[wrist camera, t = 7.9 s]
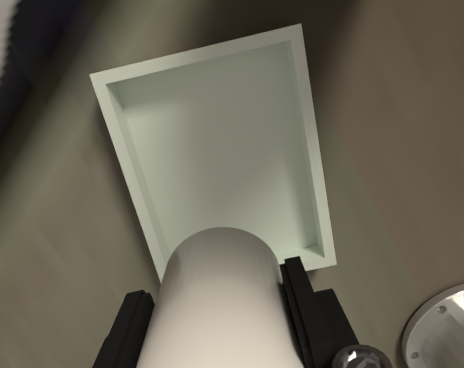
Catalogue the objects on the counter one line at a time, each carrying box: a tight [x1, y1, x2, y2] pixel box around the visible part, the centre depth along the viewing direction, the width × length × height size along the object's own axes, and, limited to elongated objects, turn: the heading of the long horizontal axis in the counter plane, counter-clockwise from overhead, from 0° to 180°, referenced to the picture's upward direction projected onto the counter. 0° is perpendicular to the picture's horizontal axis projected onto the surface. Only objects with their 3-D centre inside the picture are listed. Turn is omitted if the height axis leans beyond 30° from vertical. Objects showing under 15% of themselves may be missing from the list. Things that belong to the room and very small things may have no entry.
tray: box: [89, 24, 337, 283], centre depth 27 cm, size 14×18×3 cm
